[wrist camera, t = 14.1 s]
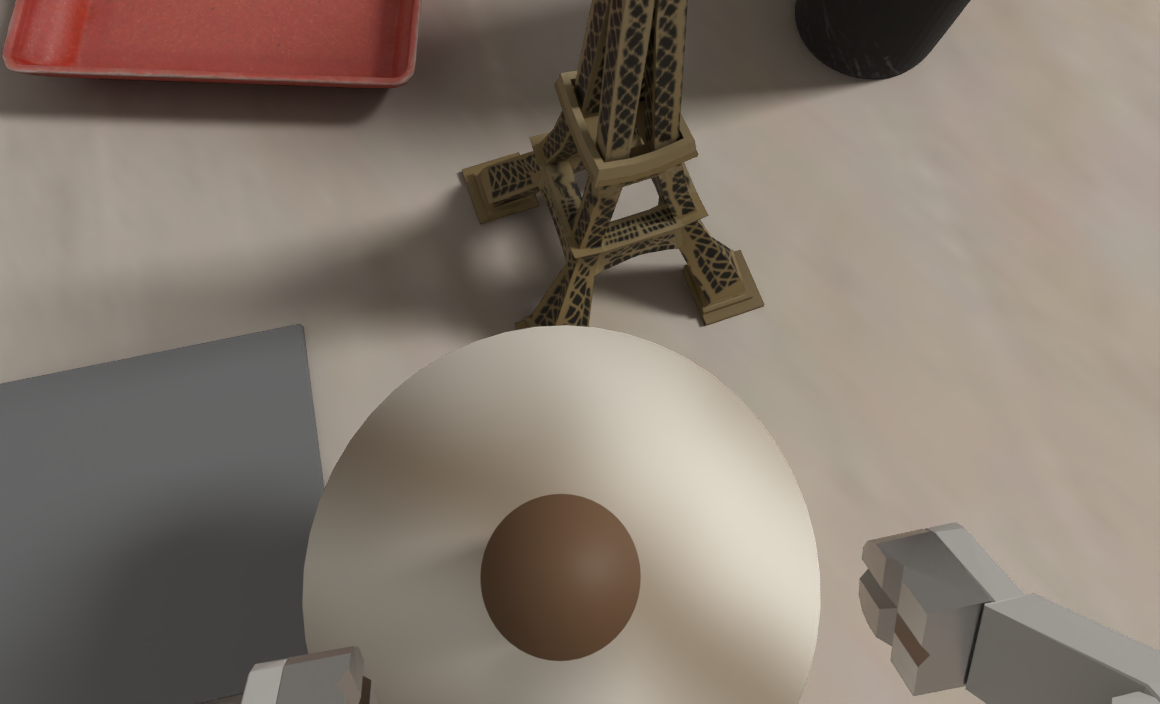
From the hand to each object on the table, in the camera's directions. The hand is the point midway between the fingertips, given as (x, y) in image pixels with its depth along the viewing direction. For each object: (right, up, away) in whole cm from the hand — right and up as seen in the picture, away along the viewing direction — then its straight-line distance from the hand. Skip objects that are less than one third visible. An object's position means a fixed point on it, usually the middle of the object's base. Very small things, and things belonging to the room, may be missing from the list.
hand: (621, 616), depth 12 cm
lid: (-1, -1, +7) cm, 7 cm away
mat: (-18, -3, +18) cm, 26 cm away
